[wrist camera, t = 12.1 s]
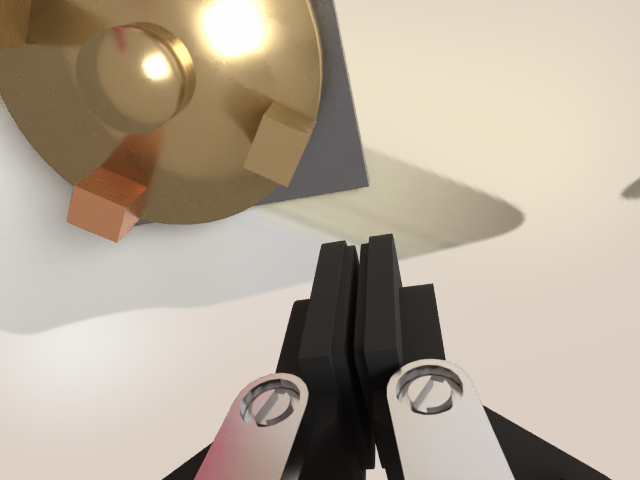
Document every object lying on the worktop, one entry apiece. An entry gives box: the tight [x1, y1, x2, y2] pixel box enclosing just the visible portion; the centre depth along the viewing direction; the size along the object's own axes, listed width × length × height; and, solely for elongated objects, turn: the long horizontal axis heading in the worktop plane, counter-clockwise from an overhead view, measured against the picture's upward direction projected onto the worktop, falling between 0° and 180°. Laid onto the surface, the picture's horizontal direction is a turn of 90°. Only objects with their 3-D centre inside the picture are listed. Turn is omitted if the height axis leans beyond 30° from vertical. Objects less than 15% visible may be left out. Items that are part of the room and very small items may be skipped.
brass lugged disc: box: [0, 0, 323, 243], centre depth 31 cm, size 22×22×6 cm
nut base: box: [133, 0, 369, 226], centre depth 35 cm, size 24×24×3 cm
